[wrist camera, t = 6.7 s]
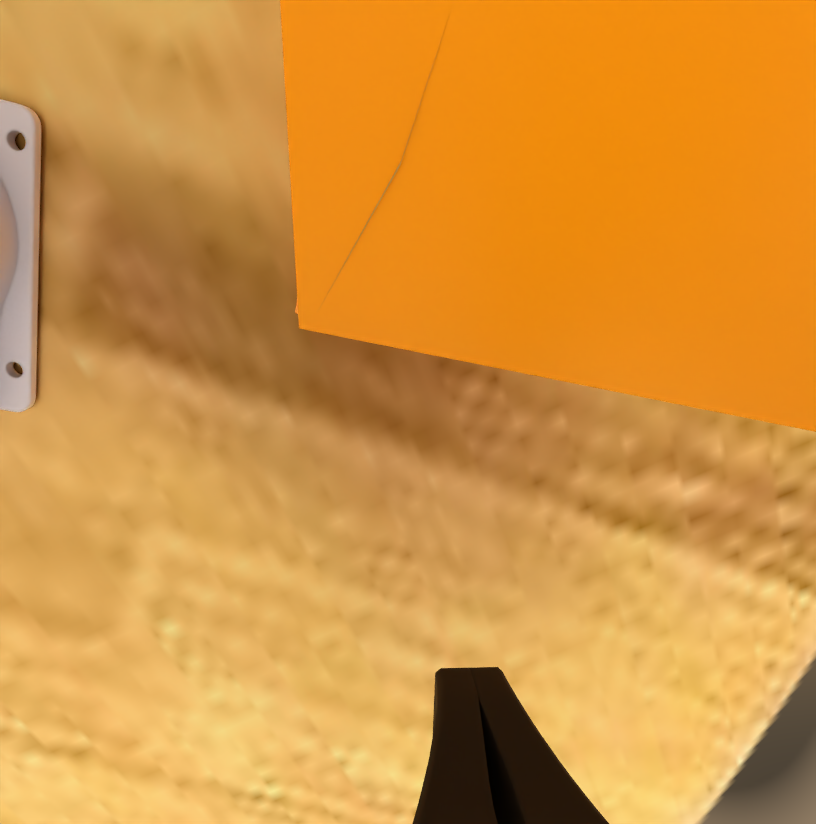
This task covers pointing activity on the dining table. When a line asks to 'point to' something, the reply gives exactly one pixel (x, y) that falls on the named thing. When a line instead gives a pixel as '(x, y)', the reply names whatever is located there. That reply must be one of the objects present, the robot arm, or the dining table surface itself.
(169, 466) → the dining table surface
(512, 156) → the orange juice
